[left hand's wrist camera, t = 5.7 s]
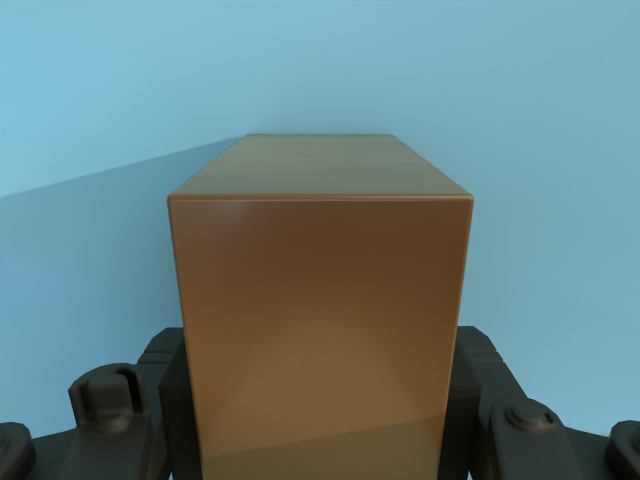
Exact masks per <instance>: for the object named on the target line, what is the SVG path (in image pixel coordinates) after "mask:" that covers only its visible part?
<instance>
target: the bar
mask: <svg viewBox="0 0 640 480" xmlns="http://www.w3.org/2000/svg"><path fill="white" fill-rule="evenodd" d="M473 204H474V198H473V195H472V194H470V193H469V192H468V191H466V190H465V189H464V188H462V187H461V186H460V185H458V184H457V183H456V182H454V181H453V180H452V179H451V178H449V177H448V176H447V175H445V174H444V173H443V172H441V171H440V170H439V169H437V168H436V167H435V166H433V165H432V164H431V163H429V162H428V161H427V160H426V159H424V158H423V157H422V156H420V155H419V154H418V153H416V152H415V151H414V150H412V149H411V148H410V147H408V146H407V145H406V144H404V143H403V142H402V141H401V140H399V139H398V138H397V137H395V136H394V135H245V136H244V137H242V138H241V139H240V140H239V141H237V142H236V143H235V144H233V145H232V146H231V147H230V148H228V149H227V150H226V151H224V152H223V153H222V154H221V155H219V156H218V157H217V158H215V159H214V160H213V161H212V162H210V163H209V164H208V165H206V166H205V167H204V168H203V169H201V170H200V171H199V172H197V173H196V174H195V175H194V176H192V177H191V178H190V179H188V180H187V181H186V182H185V183H183V184H182V185H181V186H179V187H178V188H177V189H176V190H174V191H173V192H172V193H170V194H169V195H168V197H167V206H168V213H169V221H170V229H171V237H172V244H173V252H174V260H175V267H176V275H177V283H178V290H179V298H180V306H181V313H182V321H183V329H184V336H185V344H186V352H187V360H188V367H189V375H190V383H191V390H192V398H193V406H194V413H195V421H196V429H197V436H198V444H199V452H200V459H201V467H202V475H203V480H437V475H438V468H439V460H440V453H441V445H442V438H443V430H444V422H445V415H446V407H447V400H448V392H449V385H450V377H451V370H452V362H453V355H454V347H455V340H456V332H457V325H458V317H459V309H460V302H461V294H462V287H463V279H464V272H465V264H466V257H467V249H468V242H469V234H470V227H471V219H472V212H473Z"/></svg>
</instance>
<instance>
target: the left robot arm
mask: <svg viewBox="0 0 640 480" xmlns="http://www.w3.org/2000/svg"><path fill="white" fill-rule="evenodd" d="M68 393H69V397H70V400H71V404H72V408H73V412H74V416H75V420H76V424H77V426H76V428H74V429H71V430H68V431H65V432H60V433H56V434H52V435H48V436H43V437H39V438H35V439H32V438H31V434H30V431H29V429H28V428H27V427H26V426H24V425H23V424H20V423H15V422H7V423H0V480H169V477H170V474H171V472H172V476H173V480H203V475H202V467H201V459H200V452H199V444H198V436H197V429H196V421H195V413H194V406H193V398H192V390H191V383H190V375H189V367H188V360H187V352H186V344H185V336H184V329H183V328H166V329H164V330H163V331H162V332H160V333H159V334H157V335H156V336H155V337H153V338H152V340H151V341H150V343H149V344H148V346H147V347H146V349H145V350H144V353H143V354H142V355H141V357H140V358H139V360H138V363H137V364H135V365H132V364H128V363H113V364H109V365H105V366H101V367H98V368H96V369H93V370H91V371H89V372H87V373H85V374H84V375H82V376H81V377H80V378H78V379H77V380H76V381H74V383H73V384H72V385H71V387H70V388H69V389H68ZM468 472H470V474H471V477H472V479H473V480H640V422H639V421H632V420H628V421H622V422H618V423H617V424H616V425H614V426H613V427H612V429H611V432H610V436H609V437H604V436H600V435H596V434H592V433H587V432H583V431H579V430H575V429H572V428H568V427H565V426H564V425H563V424H562V422H561V420H560V419H559V417H558V416H557V415H556V414H555V413H554V412H553V411H552V410H550V409H549V408H548V407H547V406H545V405H543V404H541V403H539V402H537V401H535V400H533V399H530V398H527V396H526V394H525V393H524V391H523V390H522V388H521V387H520V385H519V384H518V382H517V381H516V379H515V378H514V376H513V374H512V373H511V371H510V370H509V368H508V367H507V365H506V364H505V362H503V359H502V358H501V356H500V354H499V353H498V352H496V348H495V347H494V345H493V344H492V342H491V341H490V339H489V338H488V337H487V336H486V335H485V334H483V333H482V332H481V331H479V330H478V329H477V328H475V327H474V326H457V332H456V340H455V347H454V355H453V362H452V370H451V377H450V385H449V392H448V400H447V407H446V415H445V422H444V430H443V438H442V445H441V453H440V460H439V468H438V475H437V480H467V478H468Z"/></svg>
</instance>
